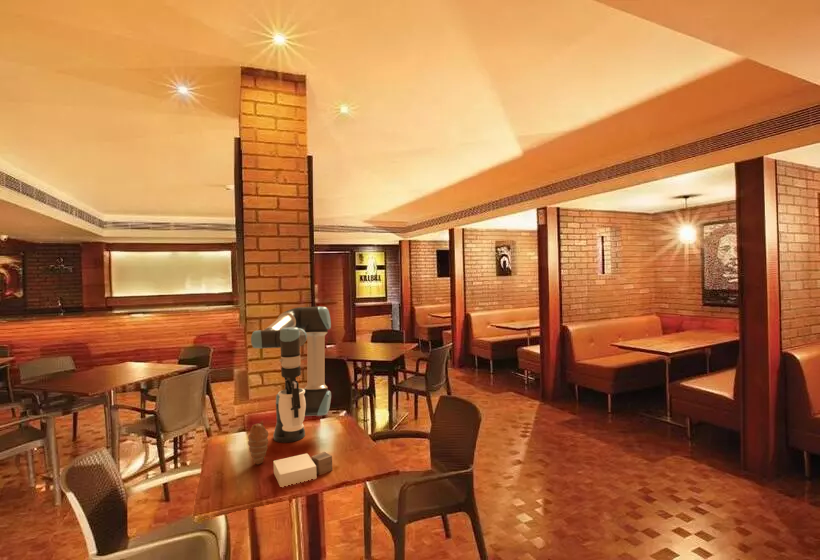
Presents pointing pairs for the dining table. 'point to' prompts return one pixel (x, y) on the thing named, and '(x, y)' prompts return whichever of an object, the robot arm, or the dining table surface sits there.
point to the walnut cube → (322, 462)
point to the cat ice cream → (258, 442)
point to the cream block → (294, 470)
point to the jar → (286, 411)
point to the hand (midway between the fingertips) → (292, 421)
